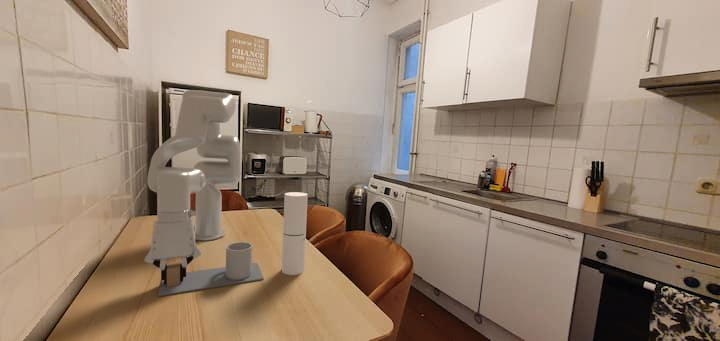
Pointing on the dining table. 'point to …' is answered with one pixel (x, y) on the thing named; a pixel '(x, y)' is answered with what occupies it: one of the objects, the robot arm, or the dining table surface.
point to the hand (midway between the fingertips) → (173, 280)
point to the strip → (201, 279)
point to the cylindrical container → (294, 233)
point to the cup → (238, 260)
